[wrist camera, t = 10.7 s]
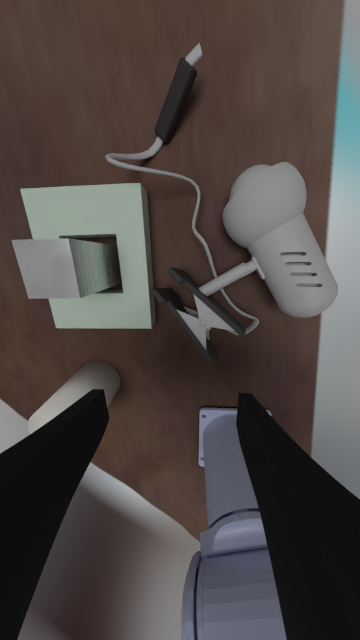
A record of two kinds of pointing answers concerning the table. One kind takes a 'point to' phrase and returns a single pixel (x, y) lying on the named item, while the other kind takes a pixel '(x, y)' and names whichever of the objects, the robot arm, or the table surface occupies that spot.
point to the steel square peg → (66, 267)
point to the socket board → (100, 221)
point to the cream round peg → (77, 391)
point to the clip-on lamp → (245, 235)
